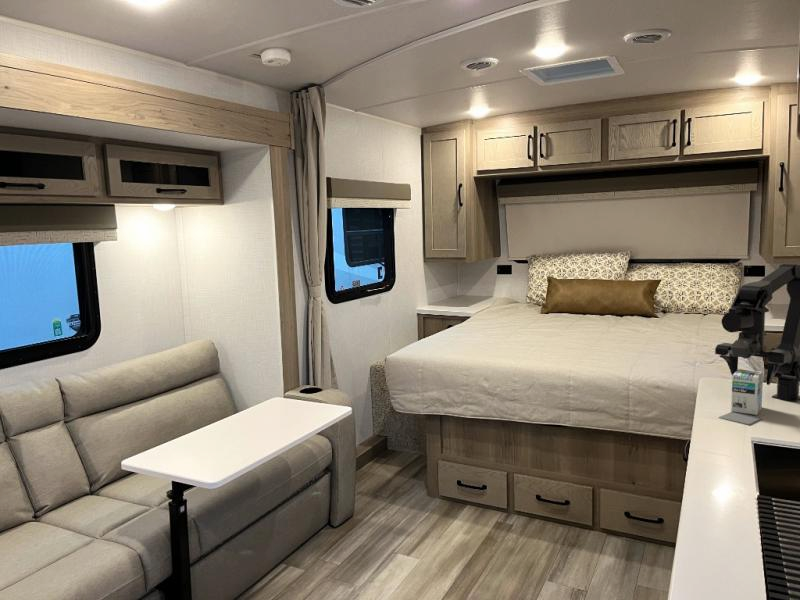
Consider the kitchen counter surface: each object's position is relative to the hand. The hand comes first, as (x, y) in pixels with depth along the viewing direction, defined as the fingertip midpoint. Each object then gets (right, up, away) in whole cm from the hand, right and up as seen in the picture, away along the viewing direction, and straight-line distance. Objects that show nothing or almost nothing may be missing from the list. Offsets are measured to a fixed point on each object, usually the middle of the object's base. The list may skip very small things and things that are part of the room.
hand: (751, 381), depth 175 cm
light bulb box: (-2, -8, -1) cm, 8 cm away
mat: (-8, -9, -8) cm, 14 cm away
